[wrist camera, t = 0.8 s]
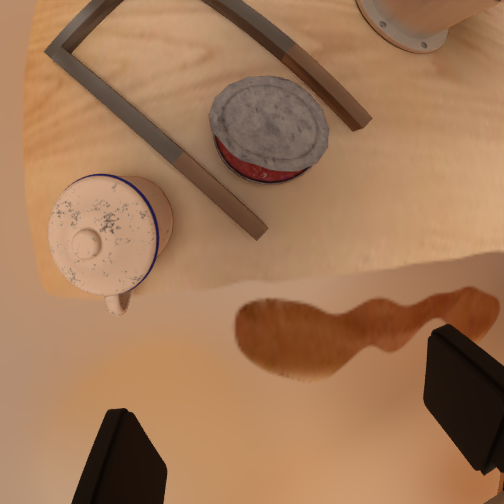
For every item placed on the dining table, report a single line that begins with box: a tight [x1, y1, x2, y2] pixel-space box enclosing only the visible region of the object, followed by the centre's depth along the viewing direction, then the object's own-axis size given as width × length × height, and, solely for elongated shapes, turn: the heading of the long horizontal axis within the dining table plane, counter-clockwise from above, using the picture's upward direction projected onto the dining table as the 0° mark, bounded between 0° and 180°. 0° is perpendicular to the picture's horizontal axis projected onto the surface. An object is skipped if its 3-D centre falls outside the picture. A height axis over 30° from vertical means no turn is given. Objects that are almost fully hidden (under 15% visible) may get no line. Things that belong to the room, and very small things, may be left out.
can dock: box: [44, 0, 373, 241], centre depth 26 cm, size 16×30×2 cm, turn 47°
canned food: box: [209, 76, 329, 185], centre depth 26 cm, size 11×10×10 cm
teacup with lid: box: [48, 174, 173, 316], centre depth 24 cm, size 12×9×12 cm
